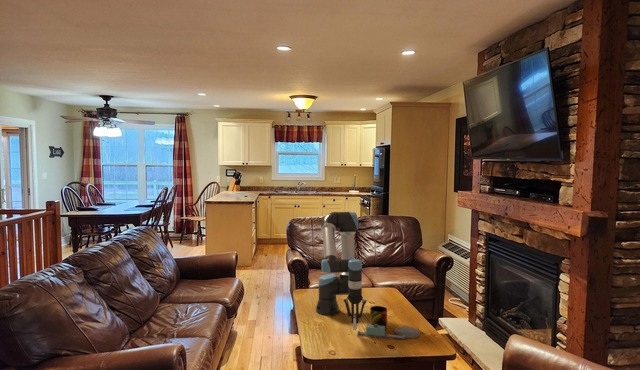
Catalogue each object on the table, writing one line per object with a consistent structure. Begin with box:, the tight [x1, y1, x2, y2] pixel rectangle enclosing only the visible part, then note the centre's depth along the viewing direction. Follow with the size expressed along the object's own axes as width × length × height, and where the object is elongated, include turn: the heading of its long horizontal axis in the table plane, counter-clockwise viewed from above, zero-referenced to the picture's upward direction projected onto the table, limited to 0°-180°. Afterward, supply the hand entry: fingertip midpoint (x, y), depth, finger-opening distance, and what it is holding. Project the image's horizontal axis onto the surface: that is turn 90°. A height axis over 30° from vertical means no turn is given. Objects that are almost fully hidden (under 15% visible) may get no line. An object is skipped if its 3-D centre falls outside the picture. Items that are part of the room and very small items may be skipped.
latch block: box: [366, 324, 386, 336], centre depth 209 cm, size 4×10×5 cm, turn 77°
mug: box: [369, 305, 388, 333], centre depth 220 cm, size 10×14×12 cm
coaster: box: [394, 325, 421, 339], centre depth 213 cm, size 14×14×1 cm
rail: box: [357, 330, 406, 341], centre depth 209 cm, size 2×26×2 cm, turn 77°
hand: (355, 328), depth 212 cm, fingers closed
